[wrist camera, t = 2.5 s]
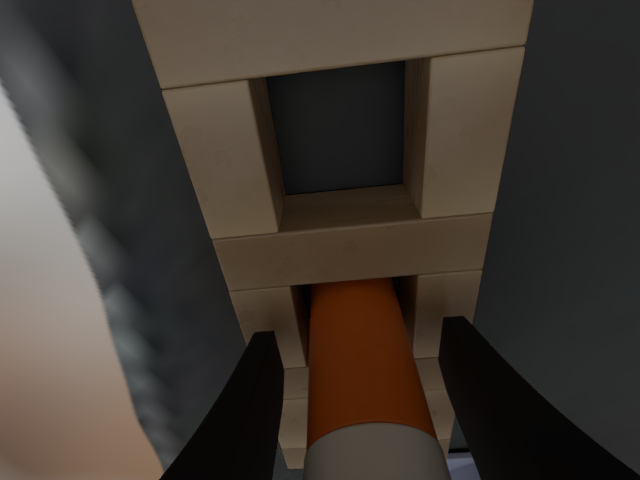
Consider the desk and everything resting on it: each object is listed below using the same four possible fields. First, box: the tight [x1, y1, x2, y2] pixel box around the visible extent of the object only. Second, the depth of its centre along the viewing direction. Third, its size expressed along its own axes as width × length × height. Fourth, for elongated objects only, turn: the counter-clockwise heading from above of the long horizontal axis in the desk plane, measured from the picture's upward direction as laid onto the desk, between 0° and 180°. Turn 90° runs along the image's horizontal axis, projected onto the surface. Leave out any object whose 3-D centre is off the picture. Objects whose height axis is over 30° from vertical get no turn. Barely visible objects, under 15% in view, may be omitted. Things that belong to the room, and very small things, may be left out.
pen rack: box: [131, 0, 534, 469], centre depth 13 cm, size 20×8×3 cm, turn 6°
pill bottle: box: [303, 277, 452, 480], centre depth 10 cm, size 3×3×8 cm
